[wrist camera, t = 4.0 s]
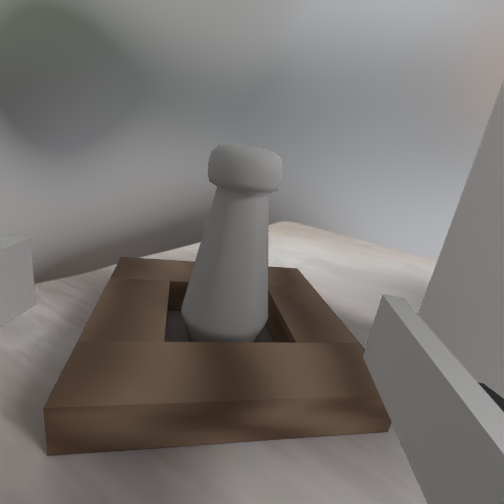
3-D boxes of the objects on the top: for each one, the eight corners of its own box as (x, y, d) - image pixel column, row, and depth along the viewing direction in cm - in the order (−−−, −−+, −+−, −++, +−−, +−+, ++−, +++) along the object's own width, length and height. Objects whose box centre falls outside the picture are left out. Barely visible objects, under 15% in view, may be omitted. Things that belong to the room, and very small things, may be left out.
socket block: (292, 291, 31) (297, 268, 30) (387, 431, 17) (402, 394, 16) (120, 283, 28) (121, 257, 27) (47, 455, 13) (43, 408, 12)
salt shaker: (164, 355, 20) (180, 135, 15) (193, 311, 25) (211, 139, 21) (256, 376, 19) (298, 154, 15) (266, 326, 24) (298, 153, 20)
